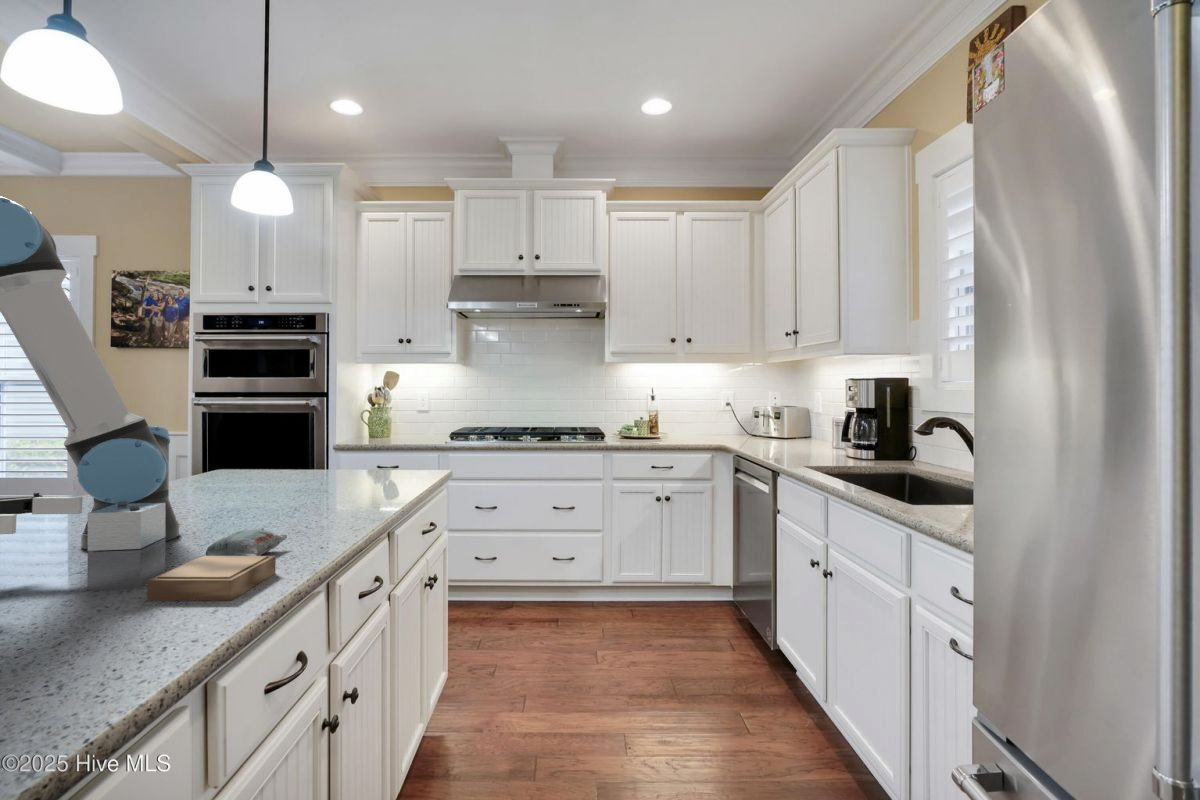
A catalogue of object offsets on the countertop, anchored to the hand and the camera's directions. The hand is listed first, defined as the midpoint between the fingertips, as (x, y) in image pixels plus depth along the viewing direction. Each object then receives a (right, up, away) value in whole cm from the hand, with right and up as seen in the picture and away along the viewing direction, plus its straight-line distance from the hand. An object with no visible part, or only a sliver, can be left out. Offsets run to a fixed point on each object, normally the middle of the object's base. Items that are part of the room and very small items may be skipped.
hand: (50, 514), depth 86 cm
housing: (+10, -11, +3) cm, 15 cm away
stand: (+25, -12, +1) cm, 28 cm away
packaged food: (+21, -12, +16) cm, 29 cm away
